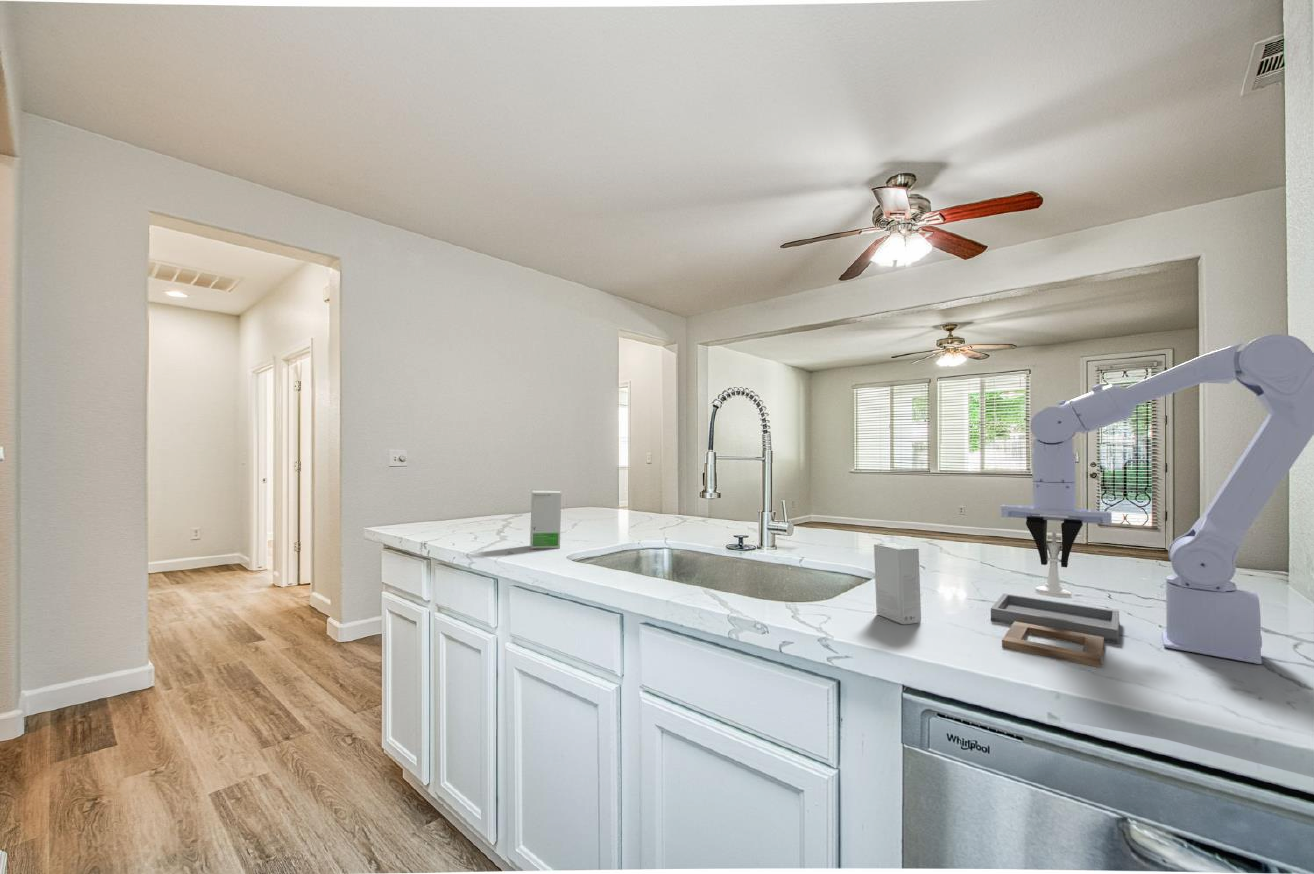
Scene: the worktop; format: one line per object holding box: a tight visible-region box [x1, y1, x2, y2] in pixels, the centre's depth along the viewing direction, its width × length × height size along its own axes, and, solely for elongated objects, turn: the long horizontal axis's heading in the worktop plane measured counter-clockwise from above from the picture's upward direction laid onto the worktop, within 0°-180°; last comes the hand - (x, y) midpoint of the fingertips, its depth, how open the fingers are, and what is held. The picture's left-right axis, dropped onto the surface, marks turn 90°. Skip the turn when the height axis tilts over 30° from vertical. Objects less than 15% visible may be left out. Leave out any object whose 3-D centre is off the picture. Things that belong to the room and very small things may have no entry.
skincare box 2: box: [873, 542, 922, 625], centre depth 92 cm, size 6×4×12 cm
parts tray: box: [990, 593, 1120, 645], centre depth 90 cm, size 16×12×2 cm
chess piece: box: [1034, 532, 1073, 599], centre depth 89 cm, size 5×5×10 cm
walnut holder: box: [1001, 621, 1105, 668], centre depth 79 cm, size 11×11×1 cm
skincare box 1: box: [529, 490, 562, 550], centre depth 155 cm, size 8×7×16 cm
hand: (1054, 565), depth 90 cm, fingers closed on chess piece
